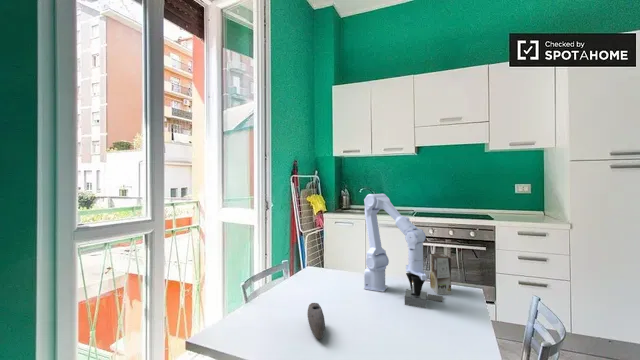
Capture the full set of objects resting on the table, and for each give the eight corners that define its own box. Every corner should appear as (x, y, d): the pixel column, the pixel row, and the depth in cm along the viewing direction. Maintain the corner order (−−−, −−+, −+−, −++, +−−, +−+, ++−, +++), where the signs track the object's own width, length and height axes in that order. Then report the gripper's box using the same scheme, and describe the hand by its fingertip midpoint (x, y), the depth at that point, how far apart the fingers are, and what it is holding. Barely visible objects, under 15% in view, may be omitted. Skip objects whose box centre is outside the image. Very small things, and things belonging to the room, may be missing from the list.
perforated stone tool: (328, 343, 87) (328, 320, 87) (311, 344, 87) (311, 321, 87) (321, 320, 102) (321, 300, 102) (306, 321, 102) (306, 301, 102)
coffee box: (451, 294, 125) (451, 257, 126) (437, 294, 126) (436, 257, 126) (443, 287, 135) (443, 253, 135) (429, 287, 135) (429, 252, 135)
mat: (426, 300, 120) (426, 298, 120) (427, 295, 125) (427, 293, 125) (442, 302, 117) (442, 301, 117) (442, 297, 123) (442, 296, 123)
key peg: (414, 301, 116) (414, 281, 116) (411, 299, 118) (410, 279, 118) (420, 300, 116) (419, 280, 116) (416, 298, 119) (415, 279, 119)
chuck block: (404, 304, 115) (404, 296, 115) (408, 291, 129) (408, 284, 129) (425, 308, 112) (425, 299, 112) (427, 294, 126) (427, 286, 126)
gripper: (399, 255, 124) (399, 286, 124) (414, 264, 110) (414, 299, 110) (414, 254, 125) (414, 285, 125) (431, 263, 111) (432, 298, 110)
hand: (415, 292), depth 117 cm, fingers closed on key peg, 2 cm apart
